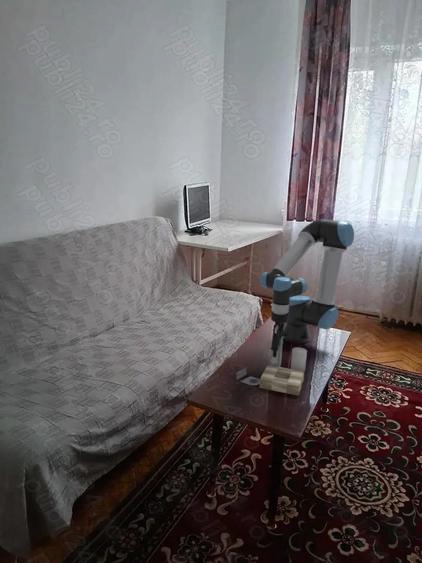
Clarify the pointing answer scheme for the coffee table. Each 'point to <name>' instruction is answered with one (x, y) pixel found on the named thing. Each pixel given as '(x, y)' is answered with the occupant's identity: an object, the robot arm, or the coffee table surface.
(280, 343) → the grey long block
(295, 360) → the plastic dowel
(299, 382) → the socket block
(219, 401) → the coffee table surface
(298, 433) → the coffee table surface
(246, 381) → the bracket
